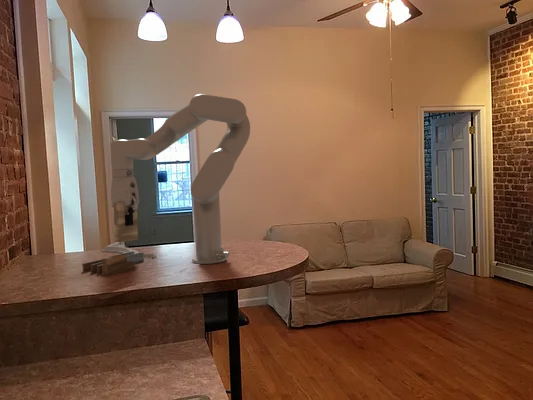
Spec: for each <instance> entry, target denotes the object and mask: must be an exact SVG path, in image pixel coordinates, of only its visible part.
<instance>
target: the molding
mask: <svg viewBox="0 0 533 400" xmlns="http://www.w3.org/2000/svg"><path fill="white" fill-rule="evenodd" d="M120 243H121V242H115V243H111V244H109V245H106V246H105V247H104V248H103V249H101V253H106V252H107V253H118V254H122V253H126V252H131V251H134V254H135V253H140V252H139V251H138V250H135V249H131V248H129V247H126V245H125V244H120ZM143 254H144V259H146V260H149V259H150V260H153V259H154V258H157V255H156V254H154V253H153V252H143Z"/></svg>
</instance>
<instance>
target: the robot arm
mask: <svg viewBox="0 0 533 400" xmlns="http://www.w3.org/2000/svg"><path fill="white" fill-rule="evenodd" d="M207 121H212V122H213V121H214V122H220V123H226V126H227V127H226V128H227V130H226V131H225V134H224V135H223V137H222V139H221V141H220V142H219V144H218V145H217V147H216V148H215V150H214V151H212V152H211V153H210V154H209V155H208V157H206V158H207V159H206V160H205V161H204V163H203V165H202V166H201V168H200V169H199V171H198V173H197V175H196V176H195V178H194V180H193V181H192V183H191V186H190V194H191V196H192V198H193V199H192V200H193V220H194V223H193V224H194V239H195V242H194V243H195V255H196V256H194V257H192V259H191V262H192V263H194V264H196V265H197V264H199V265H208V264H209V265H212V264H213V265H214V264H217V263H222V262H225V261H226V260H227V259H228V257H230V252H229V251H225V248H224V247H222V228H221V227H222V226H221V206H220V204H221V203H220V191H221V190H222V189H223V186H224V185H225V183H226V181H227V180H228V178H229V177H230V175H231V174H232V172H233V170H234V167H235V164H236V163H237V160H238V159H239V157H240V155H241V154H242V152H243V150H244V149H245V147H246V145H247V143H248V140H249V139H250V135H251V123H250V122H251V121H250V120H249V117H248V115H247V108H246V106H245V104H244V103H243V102H242V101H241V100H239V99H236V98H230V97H224V96H218V95H211V94H205V93H199V94H196V95H194V96H193V97H192V98H191V99H190V101H189V103H188V104H186V105H185V106H183V107H182V108H180V109H179V110H177V111H176V112H175V113H173V114H171V115H170V116H169V117H167V118H166V120H165V121H164V123H163V124H162V125H161V127H160V128H158V129H157V130H155V132H153V133H151V134H150V135H148V136H147V137H145V138H136V139H135V138H134V139H114V140H112V141H111V142H110V144H109V145H110V166H111V187H110V196H111V198H110V199H111V208H113V209H114V203H117V202H118V203H123V206H125V211H126V215H125V225H126V226H130V225H133V214H134V211H135V209H136V208H137V209H138V208H139V204H140V196H139V195H140V194H139V189H138V188H139V187H138V183H137V180H136V178H135V172H134V160H140V161H141V160H144V161H146V160H147V161H148V160H151V159H153V158H154V157H157V156H158V155H159V154H160V153H162V152H164V151H165V150H167V149H168V148H170V147H171V146H172V145H174V144H175V143H176V142H179V140H181V139H182V138H184V137H185V136H186V135H188V134H189V133H190V132H192V131H193V130H196V128H199V127H200V126H201V125H203V124H204V123H206V122H207ZM129 205H130V206H129ZM128 207H130V208H128Z"/></svg>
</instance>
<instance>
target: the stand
mask: <svg viewBox="0 0 533 400" xmlns="http://www.w3.org/2000/svg"><path fill="white" fill-rule="evenodd" d="M143 253H144V251H140V252H139V253H135V254H134V251H131V252H126V253H118V254H117V255H119V254H121V255H127V262H128V261H133V266H134V265H137V264H140V263H141V264H142V263H145V262H149V261H150V260H149V259H145V258H144V254H143ZM115 255H116V254H113V255H112V256H115Z"/></svg>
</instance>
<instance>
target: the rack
mask: <svg viewBox="0 0 533 400" xmlns="http://www.w3.org/2000/svg"><path fill="white" fill-rule="evenodd" d="M102 266H103V264H102V258H101V259H95V260H91V261H88V262H84V263H82V266H81V267H82V271H81V273H84V274H90V275H98V276H104V277H112V276H115V275H118V274H123V273H126V272H130V271H133V270H135V268H134V265H133V261H128V262H124V263H120V264H116V265H112V266H108V267H106V268H107V274H102Z"/></svg>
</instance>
